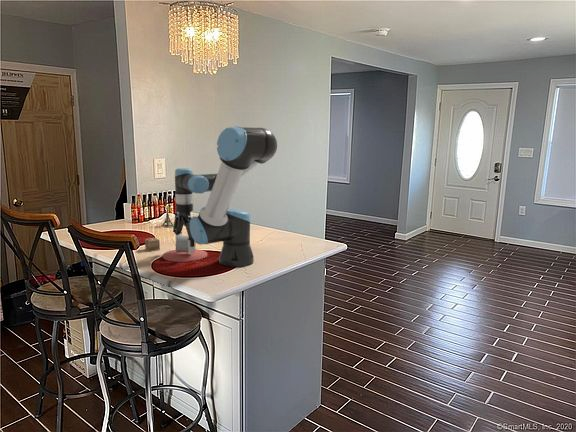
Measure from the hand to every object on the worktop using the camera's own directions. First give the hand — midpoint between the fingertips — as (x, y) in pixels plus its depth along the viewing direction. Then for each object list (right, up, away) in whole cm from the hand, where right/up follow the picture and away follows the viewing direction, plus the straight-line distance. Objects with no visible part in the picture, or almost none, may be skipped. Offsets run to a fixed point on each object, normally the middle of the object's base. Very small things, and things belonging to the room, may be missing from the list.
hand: (185, 250), depth 200 cm
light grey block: (0, 0, +1) cm, 1 cm away
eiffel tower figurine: (-25, +9, +63) cm, 68 cm away
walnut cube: (-18, 0, +10) cm, 20 cm away
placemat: (0, -2, 0) cm, 2 cm away
